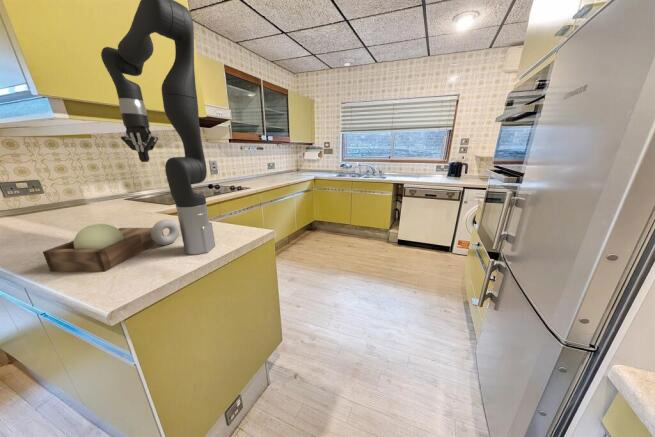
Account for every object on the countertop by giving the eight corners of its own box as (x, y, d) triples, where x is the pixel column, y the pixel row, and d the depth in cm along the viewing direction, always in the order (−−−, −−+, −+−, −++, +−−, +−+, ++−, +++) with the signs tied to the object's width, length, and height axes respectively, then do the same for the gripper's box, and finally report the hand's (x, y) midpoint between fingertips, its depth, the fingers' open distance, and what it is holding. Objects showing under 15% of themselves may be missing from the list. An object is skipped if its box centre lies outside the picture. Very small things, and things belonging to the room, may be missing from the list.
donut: (157, 249, 84) (151, 224, 81) (151, 248, 86) (145, 222, 83) (183, 240, 93) (179, 217, 90) (178, 239, 94) (173, 216, 91)
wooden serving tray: (164, 239, 94) (161, 224, 92) (105, 271, 69) (99, 251, 67) (123, 239, 94) (119, 224, 92) (50, 271, 69) (42, 251, 67)
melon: (95, 229, 69) (105, 266, 72) (129, 220, 80) (136, 251, 83) (56, 229, 69) (67, 266, 72) (96, 219, 80) (104, 251, 83)
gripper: (107, 112, 80) (119, 162, 85) (144, 112, 80) (154, 162, 85) (125, 115, 88) (136, 161, 93) (159, 115, 88) (168, 161, 93)
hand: (145, 161), depth 89 cm, fingers closed
